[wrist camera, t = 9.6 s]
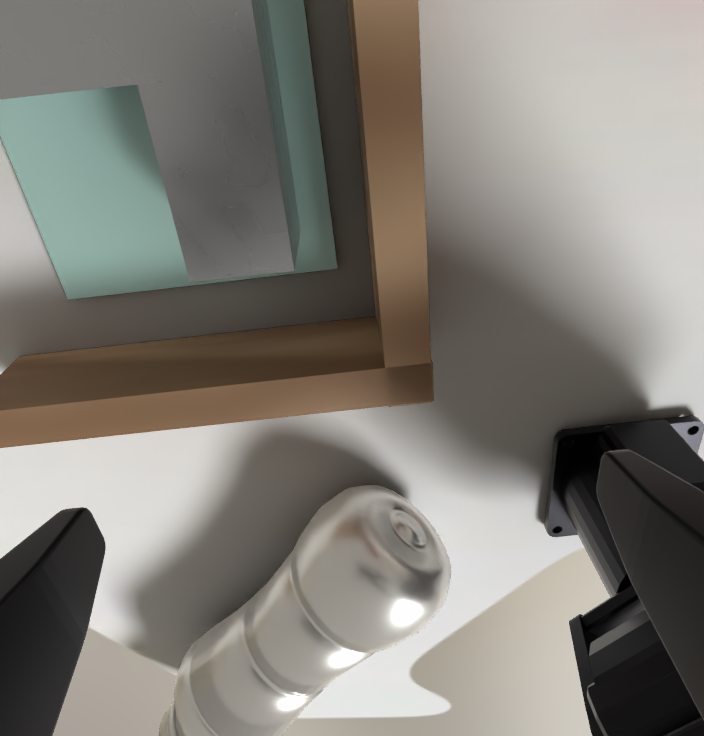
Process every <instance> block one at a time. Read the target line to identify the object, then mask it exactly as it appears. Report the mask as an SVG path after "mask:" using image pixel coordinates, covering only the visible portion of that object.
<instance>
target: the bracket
mask: <svg viewBox="0 0 704 736" xmlns="http://www.w3.org/2000/svg"><path fill="white" fill-rule="evenodd" d="M128 85H137V86H138V89H139V93H140V97H141V101H142V104H143V108H144V112H145V116H146V119H147V123H148V127H149V130H150V134H151V138H152V142H153V145H154V149H155V153H156V157H157V160H158V164H159V168H160V172H161V175H162V179H163V183H164V187H165V190H166V194H167V198H168V201H169V205H170V209H171V213H172V216H173V220H174V224H175V228H176V231H177V235H178V239H179V243H180V246H181V250H182V254H183V258H184V261H185V265H186V269H187V273H188V276H189V280H190V282H193V281H203V280H212V279H222V278H232V277H241V276H251V275H260V274H270V273H279V272H289V271H294V269H295V263H296V257H297V251H298V245H299V239H300V233H301V229H300V222H299V215H298V208H297V201H296V195H295V188H294V181H293V174H292V167H291V160H290V154H289V147H288V140H287V133H286V126H285V119H284V113H283V106H282V99H281V92H280V85H279V78H278V72H277V65H276V58H275V51H274V44H273V37H272V31H271V24H270V17H269V10H268V3H267V0H0V100H2V99H11V98H20V97H29V96H38V95H47V94H56V93H65V92H74V91H83V90H92V89H101V88H110V87H119V86H128Z"/></svg>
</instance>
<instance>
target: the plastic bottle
mask: <svg viewBox="0 0 704 736" xmlns="http://www.w3.org/2000/svg"><path fill="white" fill-rule="evenodd" d="M450 578H451V566H450V561H449V557H448V554H447V551H446V549H445V546H444V544H443V542H442V540H441V538H440V537H439V535H438V534H437V532H436V530H435V529H434V527H433V526H432V525H431V524H430V522H429V521H428V520H427V518H426V517H425V516H424V515H423V514H422V513H421V512H420V511H419V510H418V509H417V508H416V507H415V506H414V505H413V504H412V503H410V502H409V501H408V500H406V499H405V498H404V497H402V496H401V495H399V494H398V493H396V492H394V491H392V490H390V489H388V488H385V487H382V486H378V485H363V486H355V487H351V488H347V489H345V490H344V491H342V492H341V493H339V494H338V495H336V496H335V497H334V498H332V499H331V500H329V501H328V502H327V503H325V504H324V505H322V506H321V507H320V508H319V509H318V511H317V512H316V513H315V515H314V516H313V518H312V519H311V520H310V522H309V523H308V525H307V526H306V528H305V529H304V531H303V532H302V534H301V535H300V537H299V539H298V541H297V543H296V545H295V547H294V549H293V551H292V552H291V553H290V555H289V556H288V557H287V558H286V560H285V561H284V562H283V563H282V565H281V566H280V567H279V569H278V570H277V571H276V572H275V574H274V575H273V576H272V578H271V579H270V580H269V581H268V583H267V584H266V585H265V586H264V587H262V588H261V589H260V590H259V591H258V592H257V593H256V594H255V595H254V596H253V597H252V598H250V599H249V600H248V601H247V602H246V603H245V604H244V605H242V606H241V607H240V608H239V609H238V610H237V611H235V612H234V613H233V614H231V615H230V616H228V617H227V618H225V619H224V620H222V621H221V622H220V623H218V624H217V625H215V626H214V627H212V628H211V629H209V630H208V631H207V632H205V633H204V634H203V635H202V636H201V637H199V638H198V639H197V640H196V641H195V642H194V643H193V644H192V645H191V646H190V648H189V649H188V650H187V652H186V654H185V656H184V658H183V660H182V662H181V665H180V668H179V670H178V674H177V677H176V681H175V689H174V701H173V703H172V705H171V706H170V707H169V709H168V710H167V711H166V712H165V714H164V716H163V719H162V721H161V724H160V728H159V736H282V735H283V734H284V733H285V731H286V730H287V729H288V727H289V726H290V725H291V724H292V723H293V721H294V720H295V719H296V718H297V717H298V715H299V714H300V713H301V712H302V710H303V709H304V708H305V707H306V706H307V705H308V704H309V703H310V702H311V701H312V700H313V699H314V698H315V697H316V696H317V695H319V694H320V693H321V692H322V690H323V689H324V688H325V687H327V686H328V685H329V684H330V683H331V682H332V681H333V680H334V679H335V678H336V677H338V676H339V675H341V674H343V673H344V672H346V671H347V670H349V669H350V668H352V667H354V666H355V665H357V664H358V663H360V662H361V661H363V660H365V659H366V658H368V657H369V656H371V655H372V654H374V653H376V652H379V651H382V650H384V649H387V648H390V647H392V646H395V645H397V644H398V643H400V642H402V641H404V640H406V639H408V638H409V637H411V636H413V635H415V634H417V633H418V632H420V631H421V630H422V629H423V628H425V626H426V625H427V624H428V623H429V622H430V620H431V619H432V618H433V617H434V615H435V614H436V613H437V612H438V611H439V609H440V608H441V607H442V605H443V604H444V602H445V600H446V597H447V593H448V588H449V583H450Z"/></svg>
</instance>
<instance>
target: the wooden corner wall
mask: <svg viewBox="0 0 704 736" xmlns="http://www.w3.org/2000/svg"><path fill="white" fill-rule="evenodd" d="M347 8H348V19H349V30H350V41H351V52H352V62H353V73H354V84H355V95H356V106H357V117H358V127H359V138H360V149H361V160H362V171H363V182H364V192H365V203H366V214H367V225H368V236H369V247H370V257H371V268H372V279H373V290H374V301H375V312H376V316H373V317H364V318H355V319H346V320H337V321H328V322H319V323H311V324H302V325H293V326H284V327H275V328H266V329H257V330H249V331H240V332H231V333H222V334H213V335H204V336H196V337H187V338H178V339H169V340H160V341H151V342H142V343H134V344H125V345H116V346H107V347H98V348H89V349H80V350H72V351H63V352H54V353H45V354H36V355H27V356H19V357H18V358H17V359H16V360H15V361H14V362H13V363H12V364H11V365H10V366H9V367H8V368H7V369H6V370H5V371H4V372H3V373H2V374H1V375H0V448H4V447H14V446H23V445H32V444H41V443H50V442H59V441H69V440H78V439H87V438H96V437H105V436H114V435H124V434H133V433H142V432H151V431H160V430H170V429H179V428H188V427H197V426H206V425H215V424H225V423H234V422H243V421H252V420H261V419H270V418H280V417H289V416H298V415H307V414H316V413H325V412H335V411H344V410H353V409H362V408H371V407H381V406H388V407H392V406H401V405H410V404H419V403H428V402H432V401H434V393H433V363H432V360H431V350H430V322H429V294H428V266H427V238H426V210H425V182H424V153H423V125H422V97H421V69H420V41H419V13H418V0H347Z"/></svg>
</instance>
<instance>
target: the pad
mask: <svg viewBox="0 0 704 736" xmlns="http://www.w3.org/2000/svg"><path fill="white" fill-rule="evenodd" d="M267 3H268V10H269V17H270V24H271V31H272V37H273V44H274V51H275V58H276V65H277V72H278V78H279V85H280V92H281V99H282V106H283V113H284V119H285V126H286V133H287V140H288V147H289V154H290V160H291V167H292V174H293V181H294V188H295V195H296V201H297V208H298V215H299V222H300V229H301V233H300V239H299V245H298V251H297V257H296V263H295V269H294V271H289V272H279V273H270V274H260V275H251V276H241V277H232V278H222V279H212V280H203V281H193V282H190V280H189V276H188V273H187V269H186V265H185V261H184V258H183V254H182V250H181V246H180V243H179V239H178V235H177V231H176V228H175V224H174V220H173V216H172V213H171V209H170V205H169V201H168V198H167V194H166V190H165V187H164V183H163V179H162V175H161V172H160V168H159V164H158V160H157V157H156V153H155V149H154V145H153V142H152V138H151V134H150V130H149V127H148V123H147V119H146V116H145V112H144V108H143V104H142V101H141V97H140V93H139V89H138V86H137V85H128V86H119V87H110V88H101V89H92V90H83V91H74V92H65V93H56V94H47V95H38V96H29V97H20V98H11V99H2V100H0V137H1V139H2V142H3V144H4V147H5V149H6V151H7V154H8V156H9V159H10V161H11V164H12V166H13V168H14V171H15V173H16V176H17V178H18V181H19V183H20V185H21V188H22V190H23V193H24V195H25V197H26V200H27V202H28V205H29V207H30V210H31V212H32V214H33V217H34V219H35V222H36V224H37V227H38V229H39V231H40V234H41V236H42V239H43V241H44V244H45V246H46V248H47V251H48V253H49V256H50V258H51V261H52V263H53V265H54V268H55V270H56V273H57V275H58V277H59V280H60V282H61V285H62V287H63V290H64V292H65V294H66V297H67V299H68V300H70V299H79V298H88V297H96V296H105V295H114V294H122V293H131V292H140V291H149V290H157V289H166V288H175V287H183V286H192V285H201V284H209V283H218V282H227V281H235V280H244V279H253V278H261V277H270V276H279V275H287V274H296V273H305V272H313V271H322V270H331V269H337V259H336V251H335V243H334V235H333V227H332V219H331V211H330V204H329V196H328V188H327V180H326V172H325V164H324V156H323V148H322V140H321V132H320V124H319V117H318V109H317V101H316V93H315V85H314V77H313V69H312V61H311V53H310V45H309V37H308V30H307V22H306V14H305V6H304V0H267Z"/></svg>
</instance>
